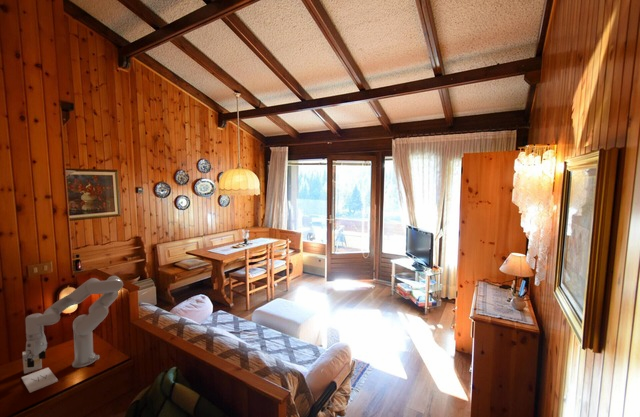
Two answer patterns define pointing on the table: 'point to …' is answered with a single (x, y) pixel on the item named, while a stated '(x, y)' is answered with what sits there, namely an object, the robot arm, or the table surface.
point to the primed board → (39, 379)
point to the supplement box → (36, 363)
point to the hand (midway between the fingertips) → (36, 362)
